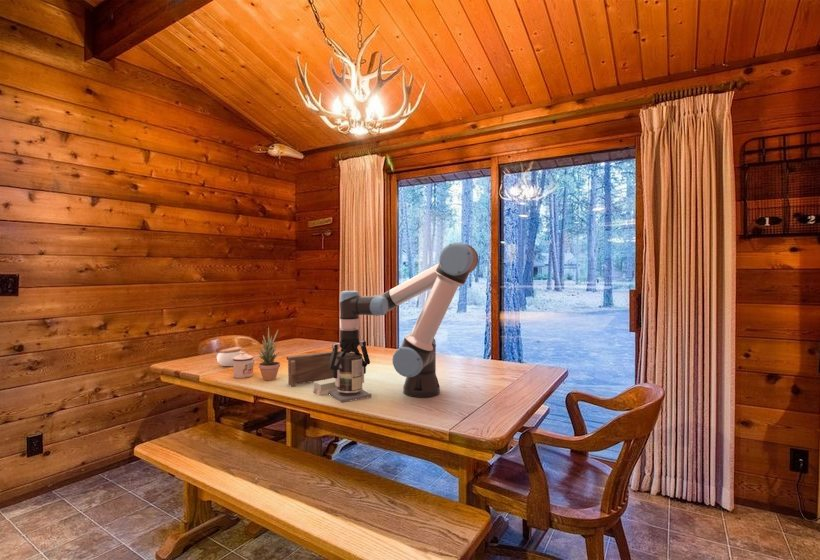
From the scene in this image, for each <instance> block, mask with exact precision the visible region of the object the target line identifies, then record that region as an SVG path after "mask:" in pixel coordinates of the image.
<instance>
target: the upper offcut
mask: <svg viewBox="0 0 820 560" xmlns="http://www.w3.org/2000/svg"><path fill="white" fill-rule="evenodd" d="M313 388H315V389H318V390H320V391H323V390H328V389H332V388H337V386H336V385H335V378H331V379H325V380H318V381H313Z"/></svg>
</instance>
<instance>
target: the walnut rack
mask: <svg viewBox="0 0 820 560" xmlns="http://www.w3.org/2000/svg"><path fill="white" fill-rule="evenodd" d="M331 354H332V351H324V352H316V353H315V352H314V353H307V354H300V355H299V354H298V355H290V356H286V361H287V365H288V367H287V369H288V371H287V372H288V381H287V382H288V385H289V386H290V385H291V386H290V387H291V388H294V386H295V387H297V384H296V383H298V384H304V383H303V382H305V383H310V382H309V381H312V382H315V381H317V380H318V381H320V380H324V379H331V378H333V370H332V369H330V368H328V366H329V362H330V358H331ZM338 354H340V350H338V352H337V355H338ZM336 360H337V356H336ZM336 360H335V362H336Z"/></svg>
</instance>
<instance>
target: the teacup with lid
mask: <svg viewBox="0 0 820 560" xmlns="http://www.w3.org/2000/svg"><path fill="white" fill-rule="evenodd" d="M254 365H255V360H254V356H253V355H250V354H248V353H246V351H241V354H239V355H238V356H236V357H234V358H233V366H232V367H233V377H234V378H235V379H246V378H245V377H247V378H250V376H251V377H253V375H254Z"/></svg>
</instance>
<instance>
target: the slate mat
mask: <svg viewBox="0 0 820 560" xmlns="http://www.w3.org/2000/svg"><path fill="white" fill-rule="evenodd" d="M329 394H330V396H331V397H333V398H334V399H335V400H337V401H338V402H340V403H345V401H347V402H351V401H350V400H352V401H356V400H355V399H357V400H362V399H361V398H363V399H367V397H368V398H372V394H371V393H369V392H368V391H366V390H364V389H363V388H362V390H361V391H359V392H355V393H342V392H338V391H337V390H335V391H329ZM329 394H328V395H329Z"/></svg>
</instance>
